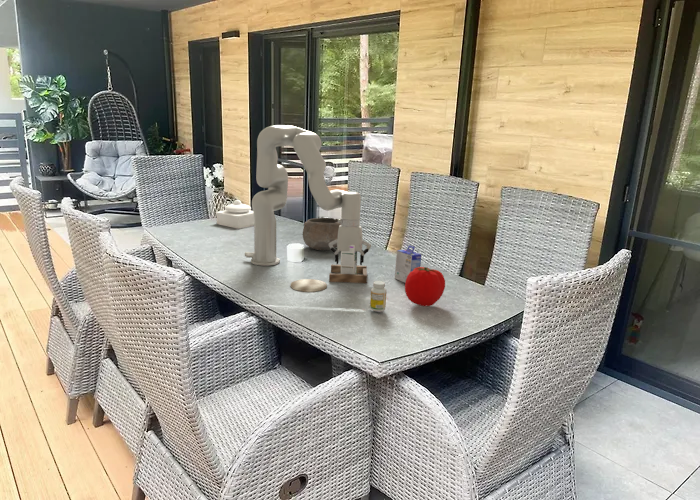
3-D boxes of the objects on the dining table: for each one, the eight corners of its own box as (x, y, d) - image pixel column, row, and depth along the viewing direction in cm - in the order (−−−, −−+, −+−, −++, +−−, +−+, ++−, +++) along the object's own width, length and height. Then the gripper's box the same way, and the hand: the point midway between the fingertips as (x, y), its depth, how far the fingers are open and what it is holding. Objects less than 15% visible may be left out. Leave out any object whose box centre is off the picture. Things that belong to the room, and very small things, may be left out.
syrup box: (354, 279, 216) (355, 245, 212) (339, 278, 217) (341, 243, 213) (356, 275, 221) (358, 241, 218) (342, 274, 222) (344, 240, 219)
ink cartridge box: (420, 283, 214) (422, 248, 211) (409, 285, 211) (412, 250, 208) (404, 276, 222) (406, 243, 219) (394, 278, 219) (396, 244, 216)
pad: (288, 291, 199) (288, 289, 199) (292, 279, 212) (292, 278, 212) (325, 292, 199) (325, 291, 199) (327, 281, 212) (327, 279, 212)
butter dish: (260, 226, 309) (260, 199, 305) (238, 231, 294) (237, 203, 290) (238, 222, 318) (238, 196, 314) (215, 227, 303) (215, 199, 299)
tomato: (415, 312, 182) (417, 274, 179) (395, 299, 195) (398, 263, 191) (453, 307, 189) (456, 270, 185) (432, 294, 201) (435, 260, 197)
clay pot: (295, 251, 256) (295, 220, 252) (313, 242, 275) (314, 214, 271) (335, 257, 249) (336, 225, 245) (351, 247, 267) (352, 218, 264)
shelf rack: (329, 281, 212) (329, 274, 211) (331, 271, 226) (331, 264, 225) (366, 283, 212) (367, 275, 211) (366, 272, 226) (366, 265, 225)
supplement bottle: (379, 313, 180) (380, 286, 178) (366, 309, 184) (368, 282, 181) (388, 309, 184) (390, 282, 182) (376, 305, 188) (377, 279, 185)
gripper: (328, 224, 210) (327, 265, 214) (372, 225, 210) (370, 267, 214) (329, 220, 217) (328, 260, 221) (371, 221, 217) (370, 262, 221)
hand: (349, 263), depth 218 cm, fingers open, 9 cm apart
